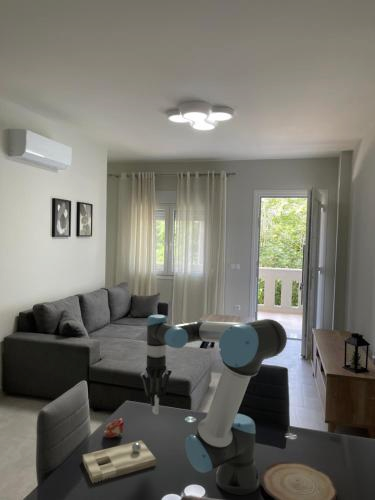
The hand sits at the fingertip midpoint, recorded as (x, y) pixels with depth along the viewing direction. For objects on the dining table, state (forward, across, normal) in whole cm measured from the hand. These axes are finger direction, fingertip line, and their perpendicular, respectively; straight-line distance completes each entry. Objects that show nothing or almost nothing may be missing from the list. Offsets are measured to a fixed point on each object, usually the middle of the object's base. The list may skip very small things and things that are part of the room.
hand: (155, 412), depth 157 cm
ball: (+12, +8, 0) cm, 15 cm away
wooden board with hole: (+16, +15, 0) cm, 22 cm away
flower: (+17, +11, -19) cm, 28 cm away
